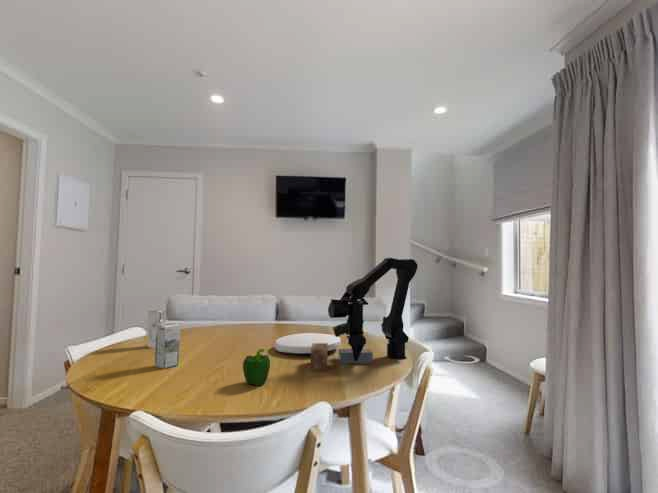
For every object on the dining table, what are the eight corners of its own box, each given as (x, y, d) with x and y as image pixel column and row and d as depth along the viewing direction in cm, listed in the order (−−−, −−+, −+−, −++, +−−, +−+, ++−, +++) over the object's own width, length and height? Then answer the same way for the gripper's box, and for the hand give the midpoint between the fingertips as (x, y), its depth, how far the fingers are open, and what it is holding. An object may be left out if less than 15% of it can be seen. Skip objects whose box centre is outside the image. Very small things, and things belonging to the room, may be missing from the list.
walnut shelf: (327, 361, 131) (327, 343, 131) (327, 371, 119) (327, 351, 120) (312, 361, 131) (312, 343, 131) (310, 371, 119) (310, 350, 120)
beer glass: (149, 344, 154) (151, 310, 155) (166, 344, 155) (167, 310, 155) (143, 348, 147) (144, 312, 148) (160, 348, 148) (161, 312, 148)
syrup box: (169, 362, 127) (171, 322, 128) (179, 365, 123) (180, 324, 124) (154, 366, 122) (155, 324, 123) (163, 369, 119) (165, 326, 119)
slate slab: (369, 359, 135) (369, 348, 136) (372, 363, 129) (372, 352, 130) (338, 359, 134) (338, 348, 134) (340, 364, 128) (340, 352, 128)
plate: (266, 344, 137) (282, 331, 164) (267, 361, 137) (283, 345, 163) (337, 339, 135) (341, 327, 161) (338, 356, 134) (342, 341, 161)
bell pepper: (249, 389, 101) (250, 354, 102) (238, 381, 108) (239, 349, 108) (275, 384, 106) (276, 350, 106) (263, 376, 113) (264, 345, 113)
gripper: (333, 312, 142) (333, 351, 141) (334, 320, 123) (334, 365, 123) (361, 313, 142) (360, 352, 141) (366, 320, 123) (365, 365, 123)
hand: (355, 358), depth 132 cm, fingers closed on slate slab, 6 cm apart
